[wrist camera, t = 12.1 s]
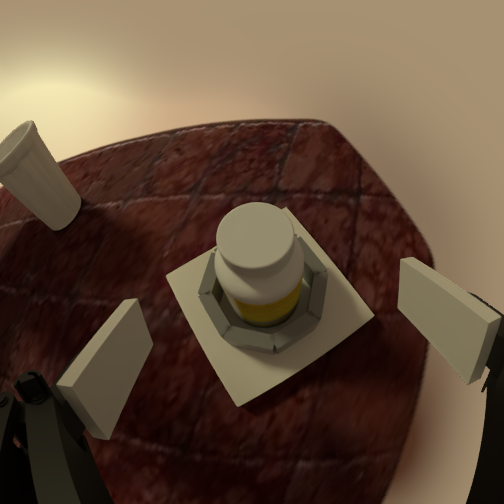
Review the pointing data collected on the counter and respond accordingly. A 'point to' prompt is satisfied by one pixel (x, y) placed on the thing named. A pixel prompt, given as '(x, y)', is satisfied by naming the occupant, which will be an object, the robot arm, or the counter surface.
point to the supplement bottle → (259, 264)
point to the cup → (37, 177)
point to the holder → (272, 339)
